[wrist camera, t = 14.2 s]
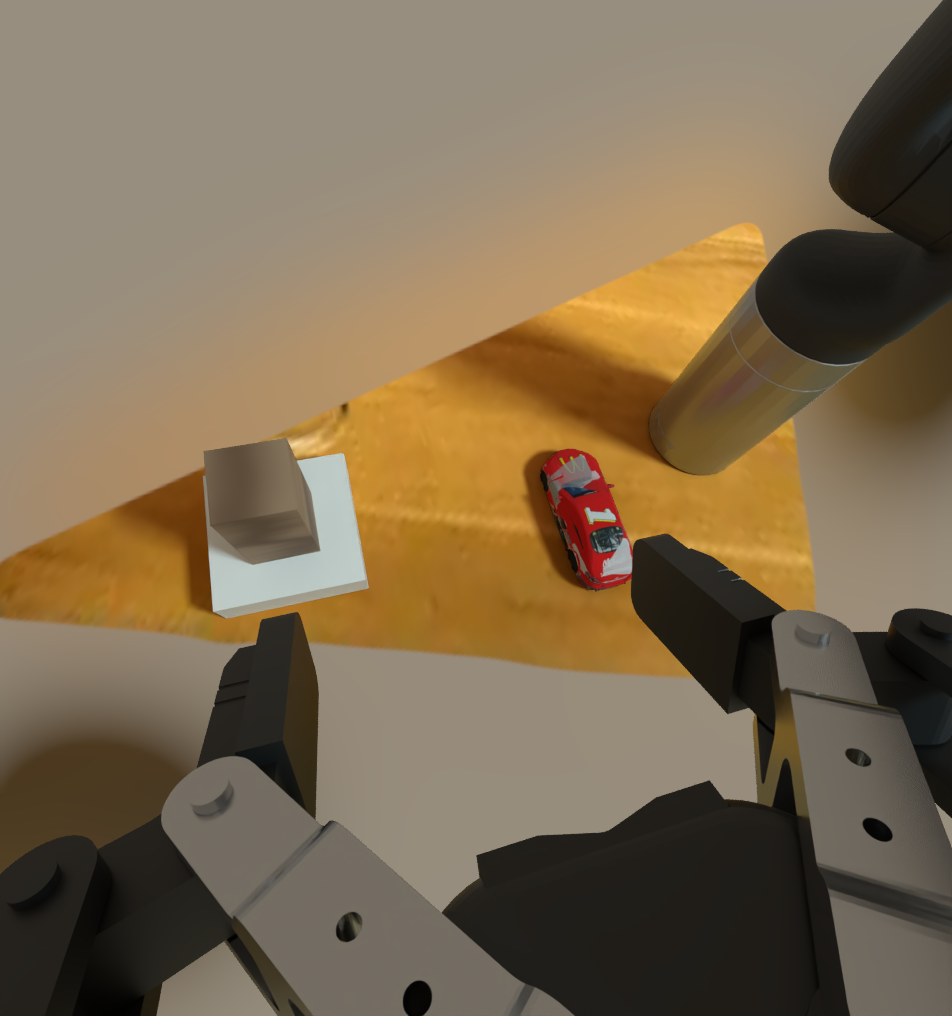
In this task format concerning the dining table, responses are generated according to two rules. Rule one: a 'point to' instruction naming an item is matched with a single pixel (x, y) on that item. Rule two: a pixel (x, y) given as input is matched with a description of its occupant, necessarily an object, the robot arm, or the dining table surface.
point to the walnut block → (261, 501)
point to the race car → (587, 519)
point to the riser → (297, 576)
